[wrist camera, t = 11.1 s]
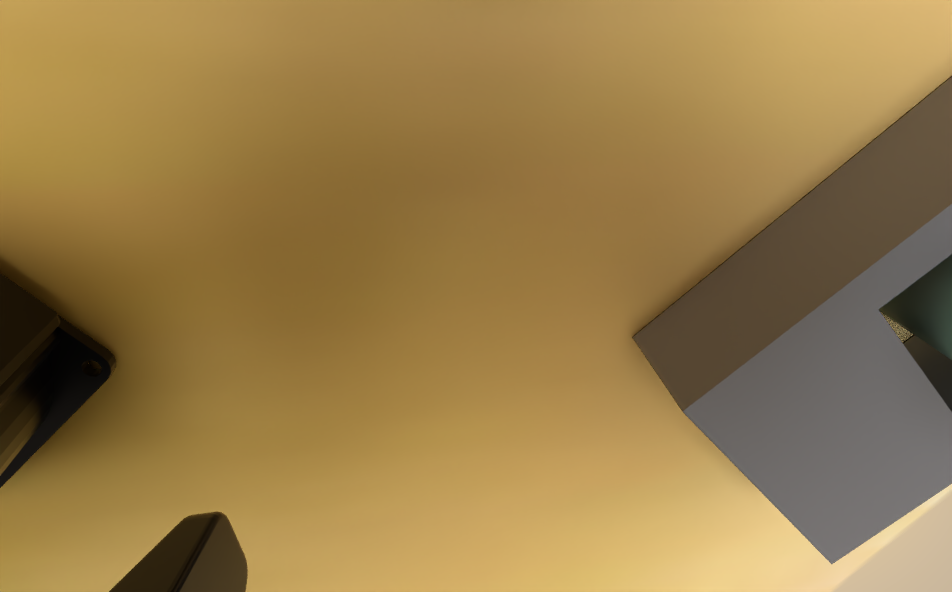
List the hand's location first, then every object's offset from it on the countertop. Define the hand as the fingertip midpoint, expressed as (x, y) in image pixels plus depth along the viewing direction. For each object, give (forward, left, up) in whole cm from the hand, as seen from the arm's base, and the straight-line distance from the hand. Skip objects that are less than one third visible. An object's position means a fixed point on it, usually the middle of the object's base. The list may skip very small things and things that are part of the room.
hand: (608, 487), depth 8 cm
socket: (+6, -10, -12) cm, 17 cm away
